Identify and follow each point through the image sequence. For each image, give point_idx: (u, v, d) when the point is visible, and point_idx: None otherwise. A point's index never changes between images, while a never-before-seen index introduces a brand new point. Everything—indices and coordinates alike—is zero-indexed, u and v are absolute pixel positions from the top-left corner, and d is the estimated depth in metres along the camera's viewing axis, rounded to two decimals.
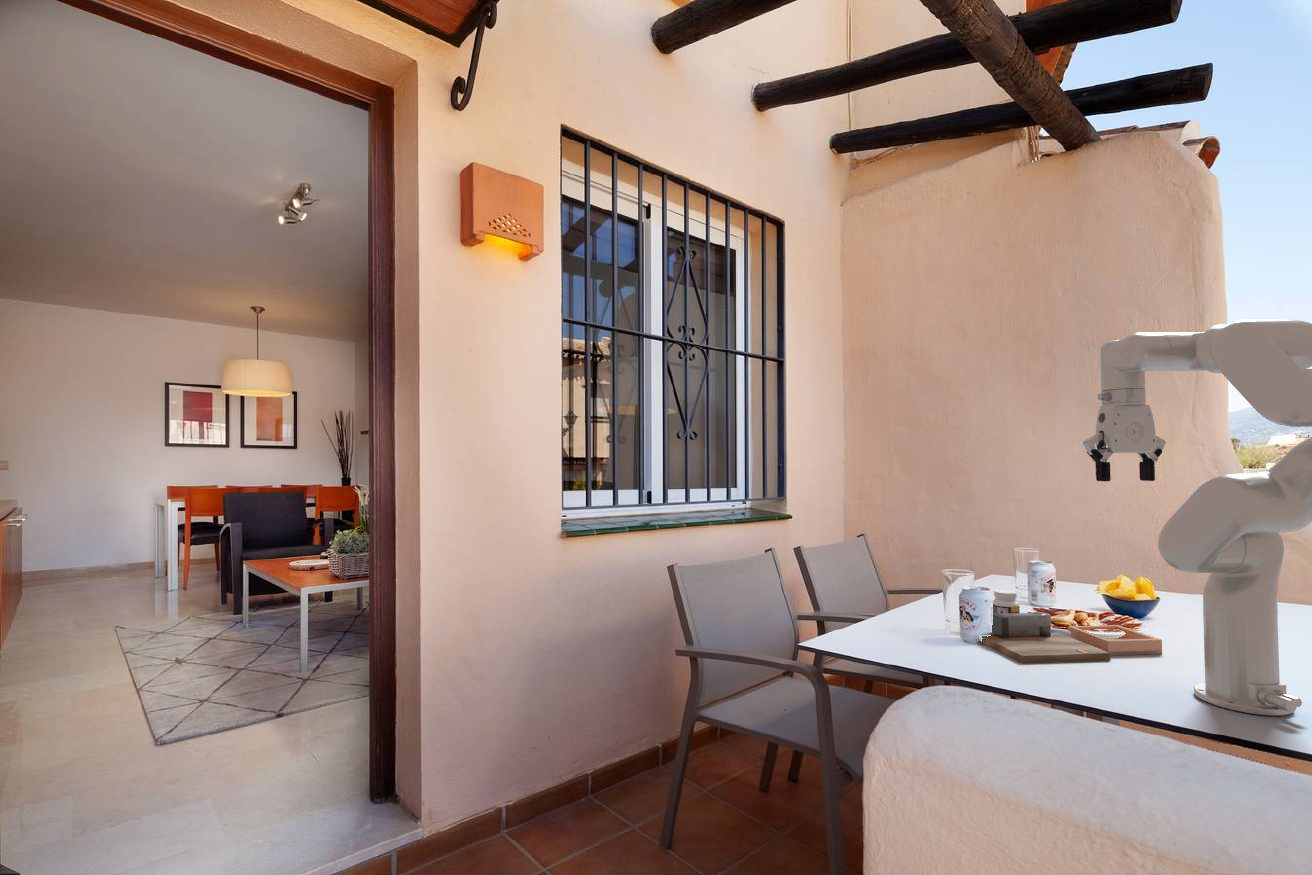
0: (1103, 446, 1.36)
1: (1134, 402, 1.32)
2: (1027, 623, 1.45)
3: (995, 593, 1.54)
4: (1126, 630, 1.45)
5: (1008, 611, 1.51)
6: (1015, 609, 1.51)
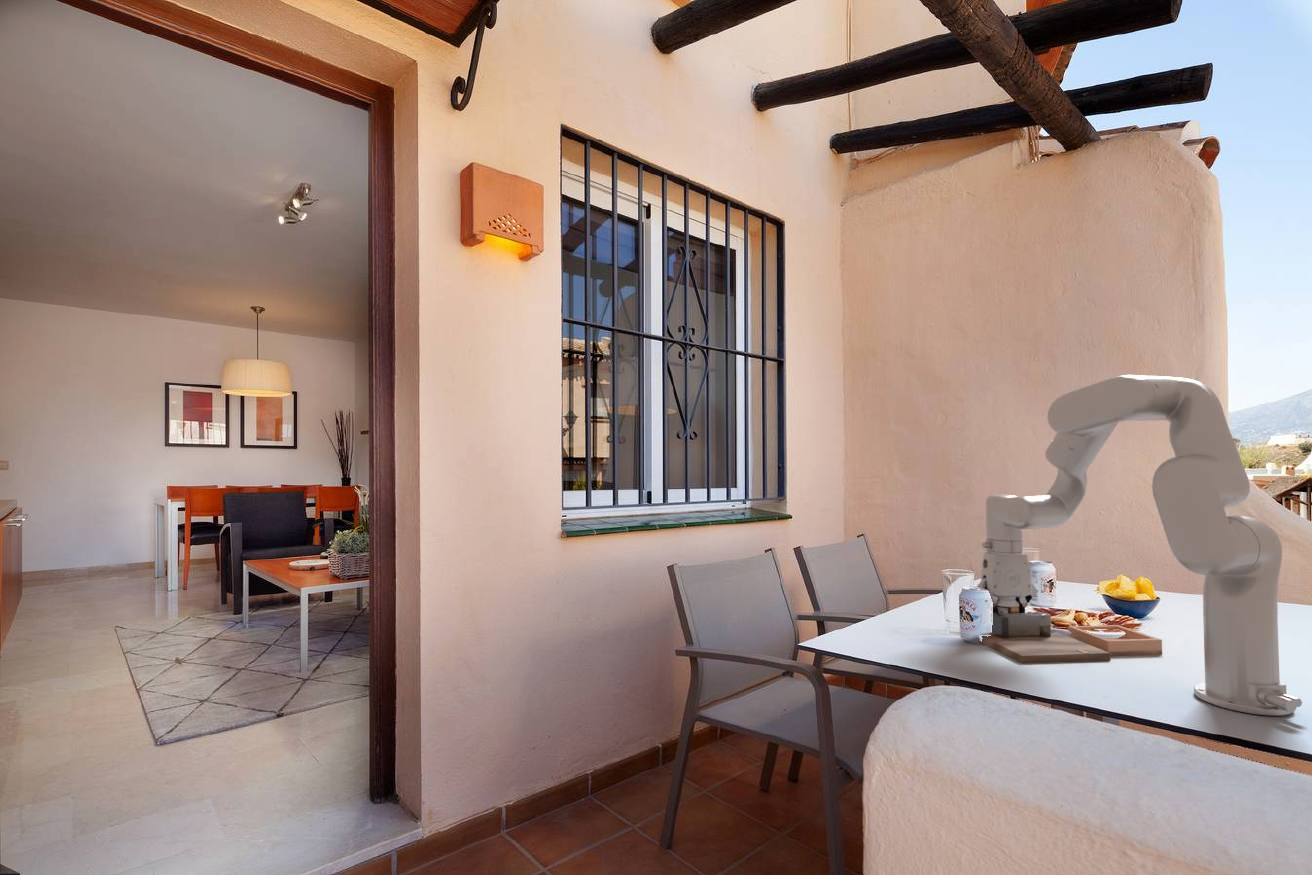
0: None
1: (1011, 553, 1.50)
2: (1027, 623, 1.45)
3: None
4: (1126, 630, 1.45)
5: (1008, 611, 1.51)
6: (1015, 609, 1.51)
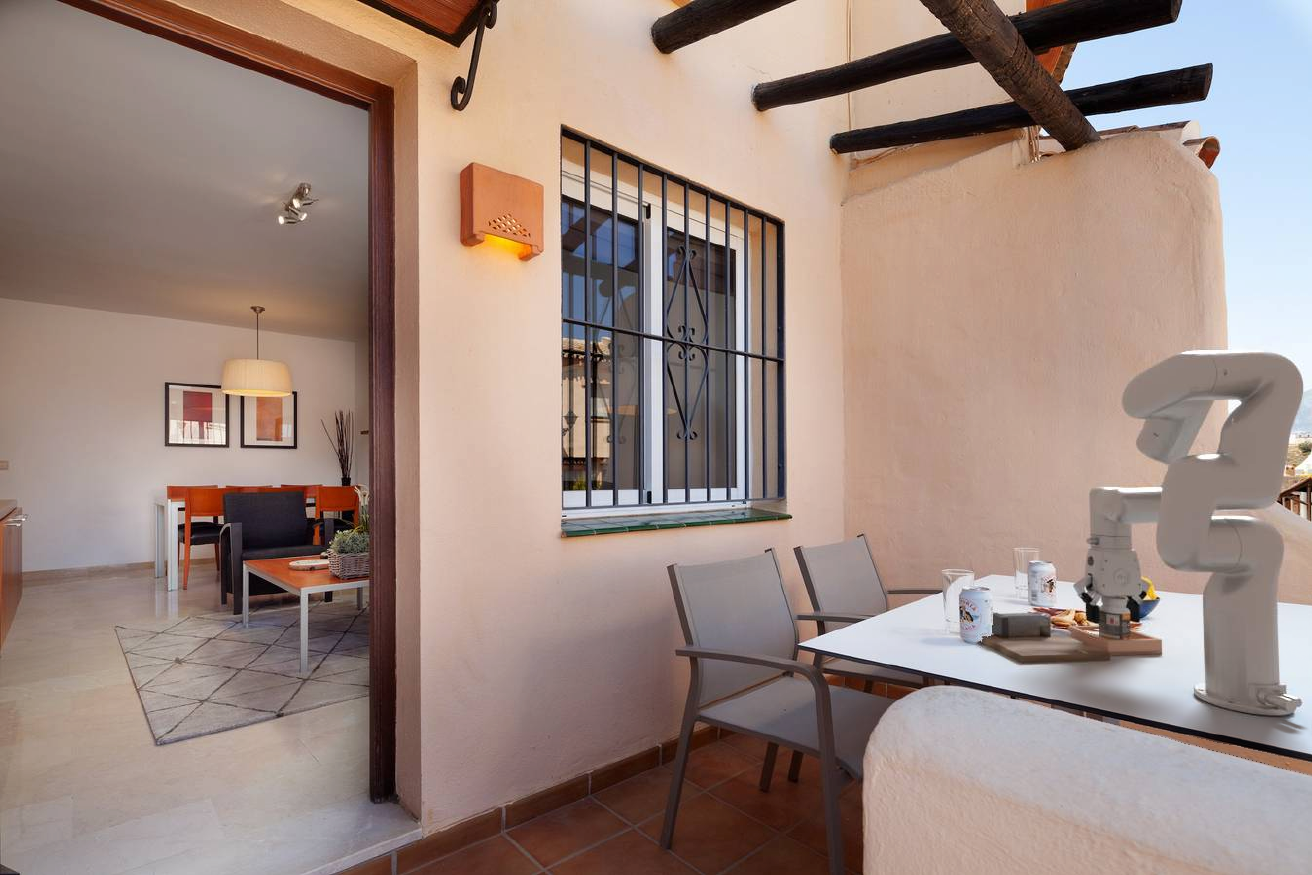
0: (1092, 587, 1.44)
1: (1121, 549, 1.40)
2: (1027, 623, 1.45)
3: (1103, 599, 1.43)
4: None
5: (1119, 618, 1.40)
6: (1127, 617, 1.40)
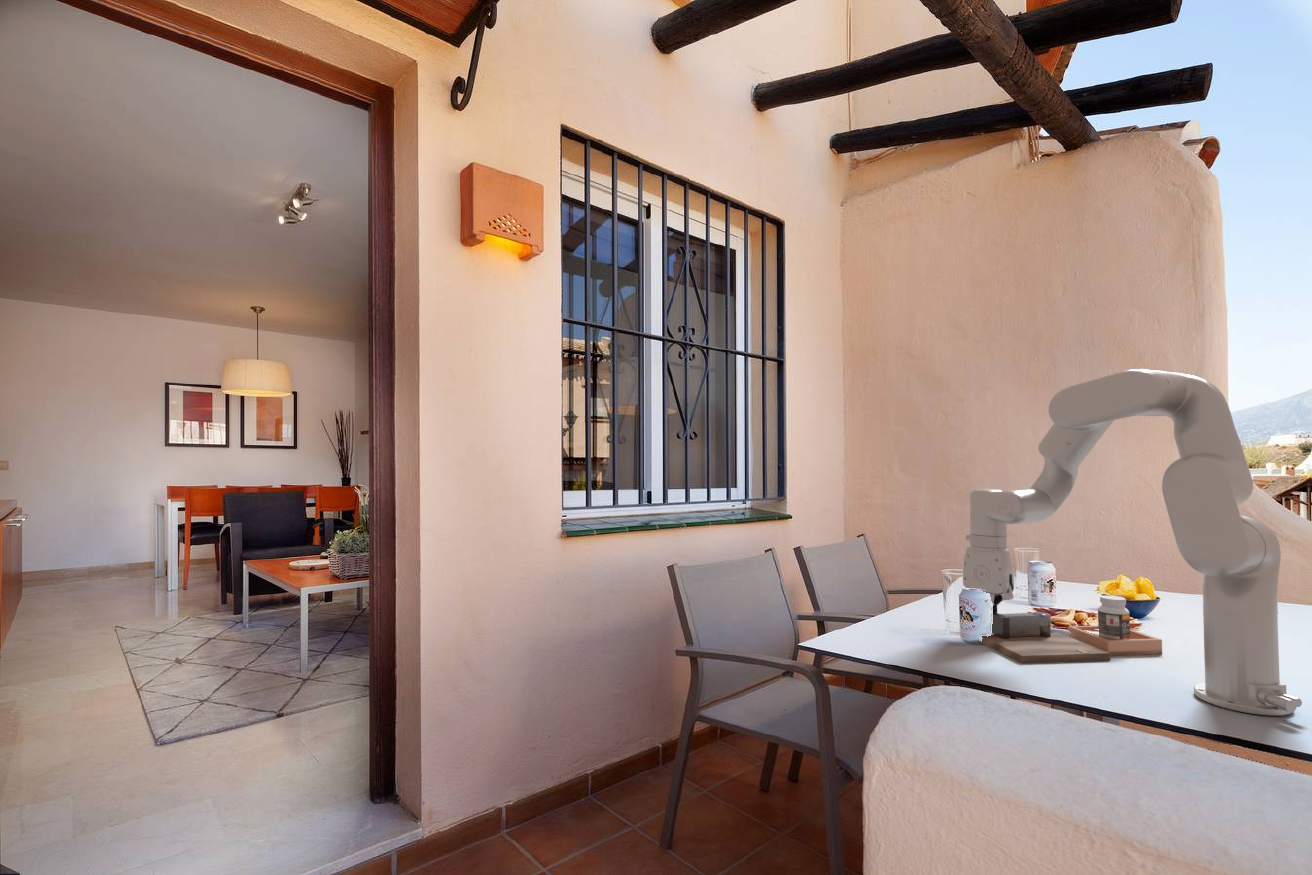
0: None
1: (976, 547, 1.49)
2: (1027, 623, 1.45)
3: (1102, 599, 1.43)
4: None
5: (1119, 619, 1.40)
6: (1126, 617, 1.40)
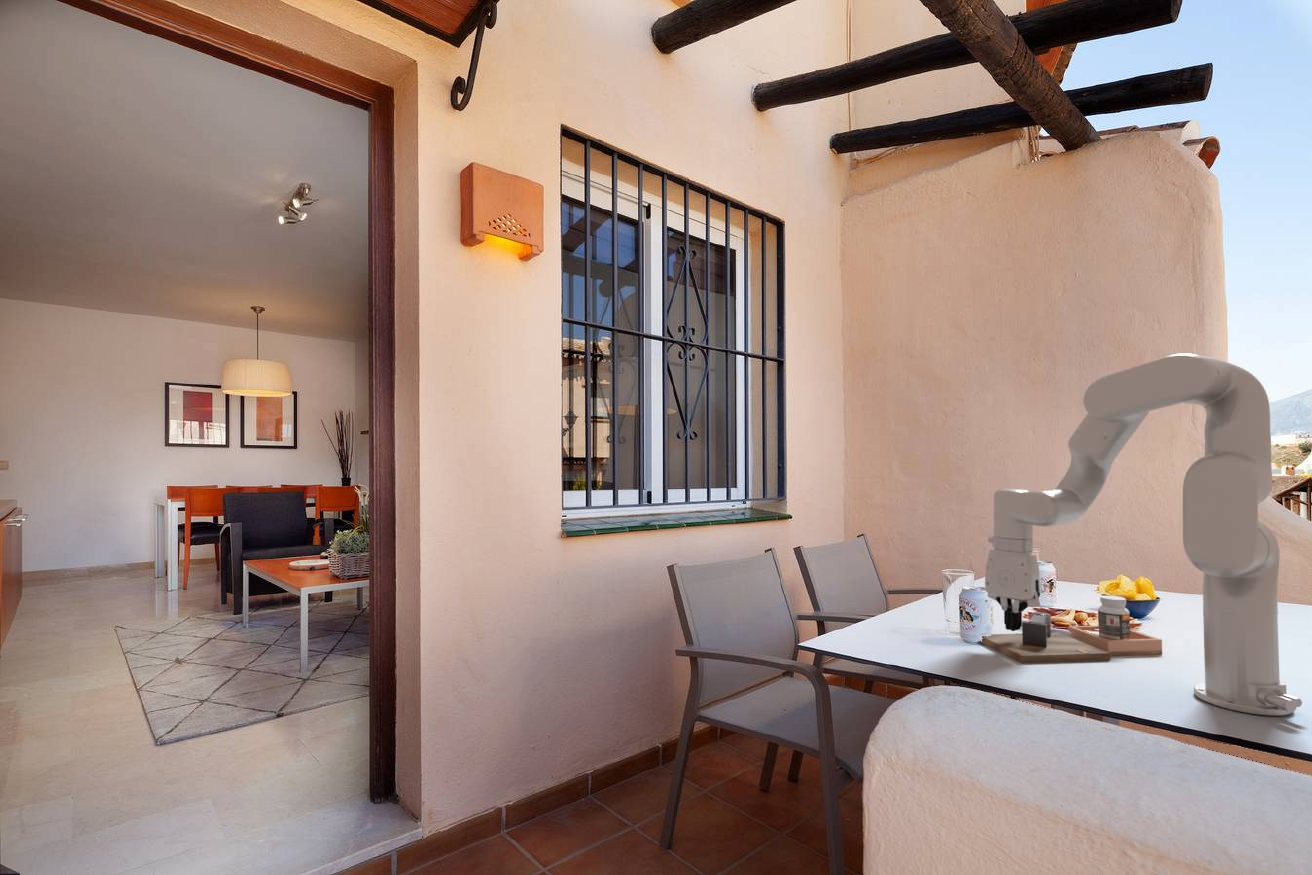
0: None
1: (1001, 550, 1.41)
2: None
3: (1103, 599, 1.43)
4: None
5: (1119, 619, 1.40)
6: (1126, 617, 1.40)
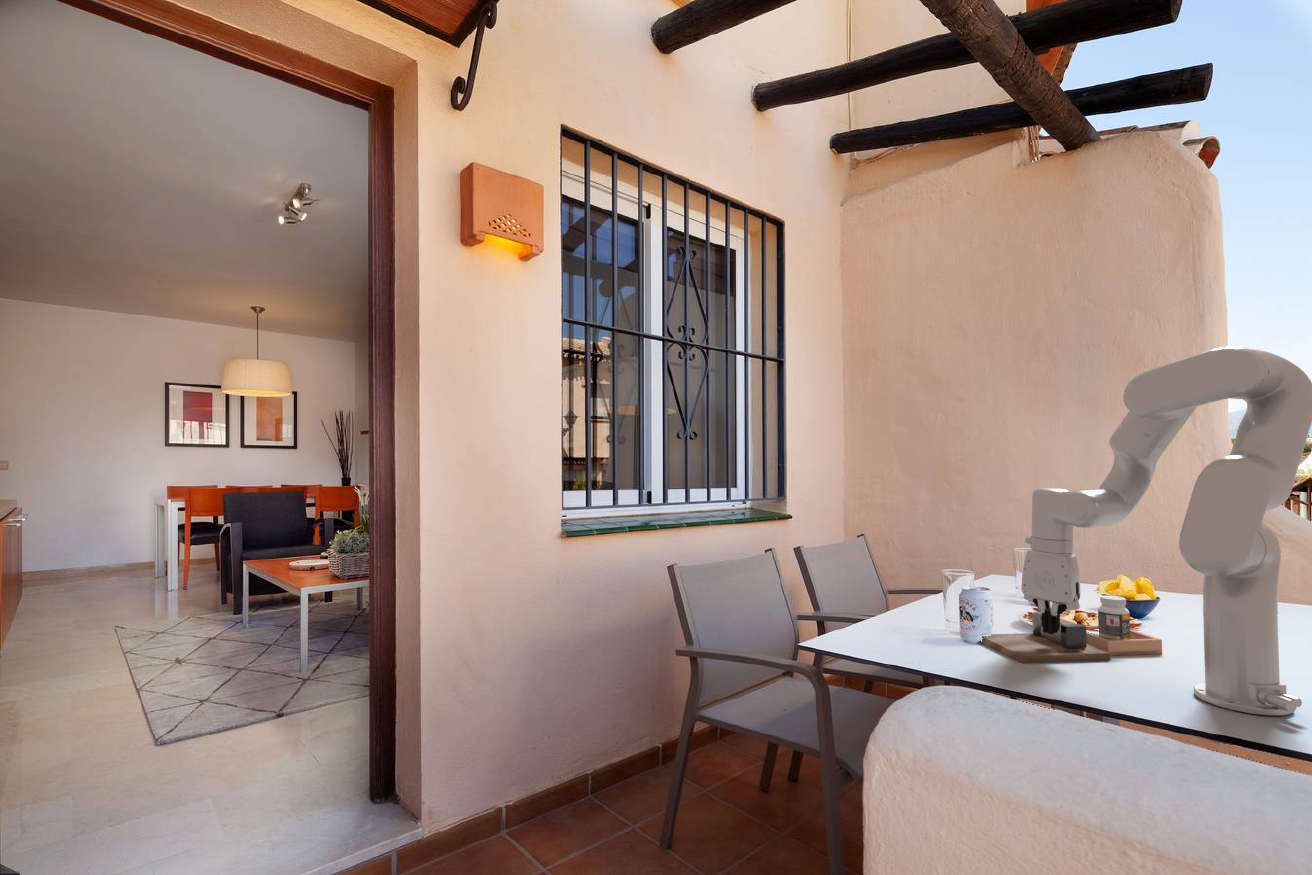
0: None
1: (1039, 552, 1.37)
2: None
3: (1102, 599, 1.43)
4: None
5: (1119, 619, 1.40)
6: (1126, 617, 1.40)
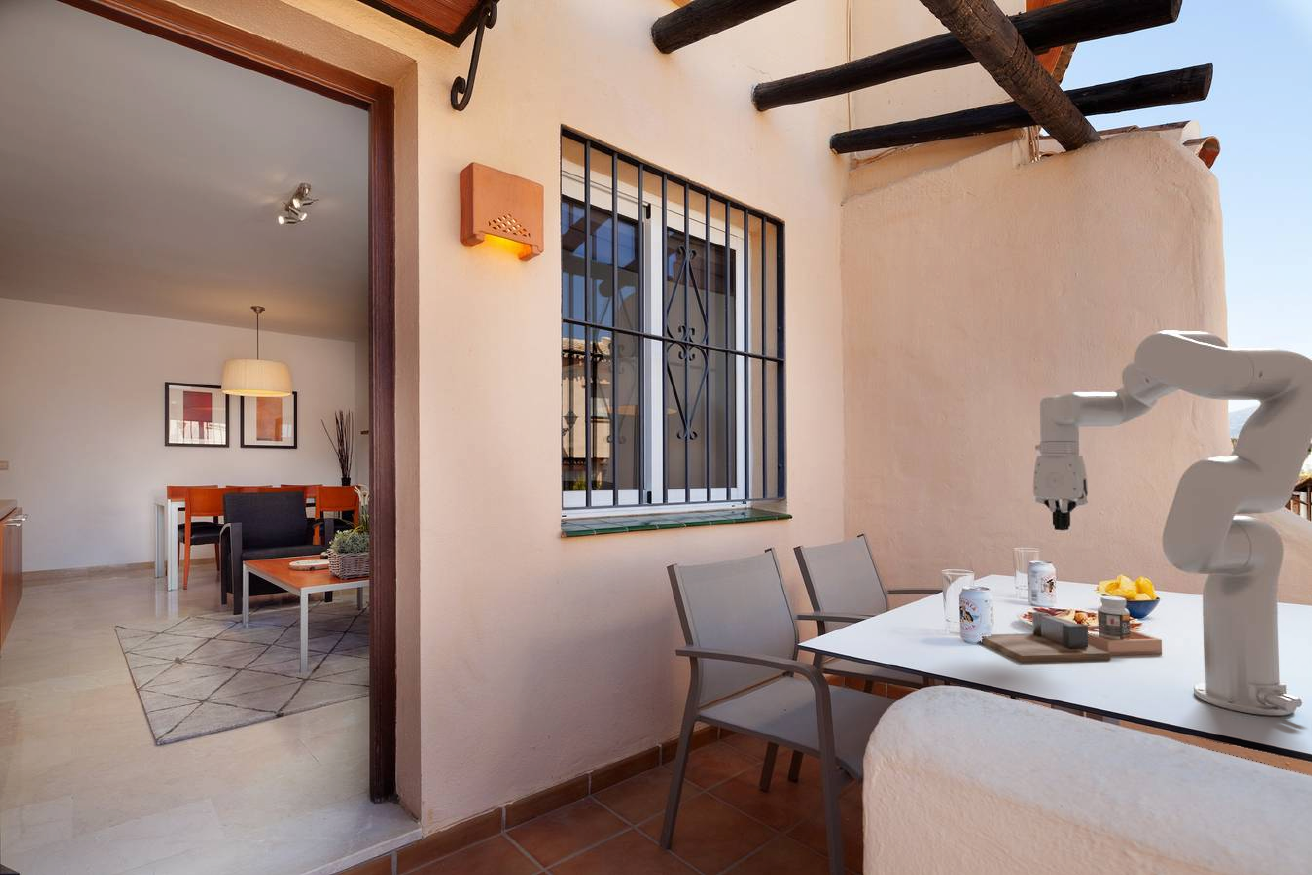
0: None
1: (1048, 454, 1.48)
2: None
3: (1103, 599, 1.43)
4: None
5: (1119, 619, 1.40)
6: (1127, 617, 1.40)
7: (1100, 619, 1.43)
